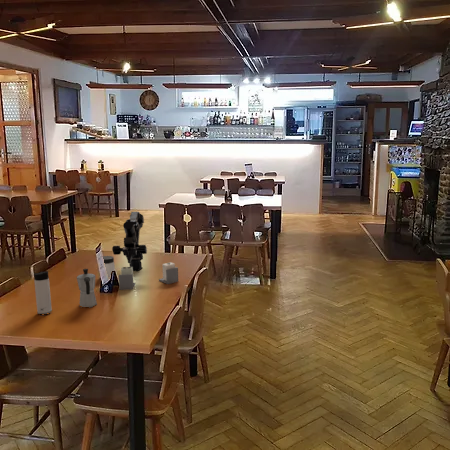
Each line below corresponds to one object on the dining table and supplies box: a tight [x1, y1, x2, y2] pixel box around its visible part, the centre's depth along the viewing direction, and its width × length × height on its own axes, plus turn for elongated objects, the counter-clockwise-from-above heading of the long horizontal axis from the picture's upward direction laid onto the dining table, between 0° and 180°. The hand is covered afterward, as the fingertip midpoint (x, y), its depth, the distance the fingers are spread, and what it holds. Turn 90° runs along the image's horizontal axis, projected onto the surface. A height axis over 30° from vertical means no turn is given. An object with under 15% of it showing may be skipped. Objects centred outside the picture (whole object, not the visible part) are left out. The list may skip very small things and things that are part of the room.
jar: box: [102, 255, 116, 277], centre depth 273 cm, size 9×8×12 cm
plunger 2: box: [162, 261, 176, 281], centre depth 264 cm, size 4×6×9 cm
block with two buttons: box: [120, 266, 134, 275], centre depth 258 cm, size 4×6×9 cm
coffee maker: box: [76, 268, 98, 308], centre depth 228 cm, size 15×9×18 cm, turn 21°
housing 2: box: [158, 266, 179, 285], centre depth 265 cm, size 8×7×8 cm
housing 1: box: [118, 273, 136, 291], centre depth 256 cm, size 8×7×8 cm
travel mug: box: [33, 270, 53, 315], centre depth 219 cm, size 6×7×20 cm
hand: (128, 262), depth 264 cm, fingers closed
